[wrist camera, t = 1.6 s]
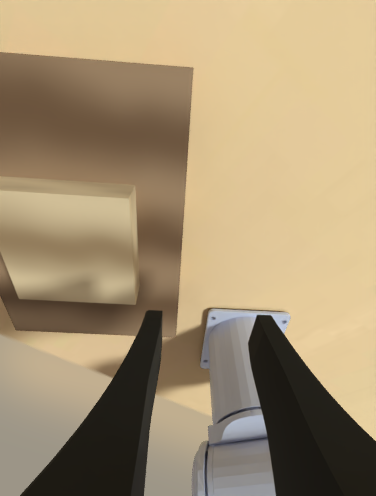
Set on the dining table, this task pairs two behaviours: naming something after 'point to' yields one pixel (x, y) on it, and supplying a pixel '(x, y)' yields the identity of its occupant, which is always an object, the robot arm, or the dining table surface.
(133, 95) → the walnut board
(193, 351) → the dining table surface
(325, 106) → the dining table surface
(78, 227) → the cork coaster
